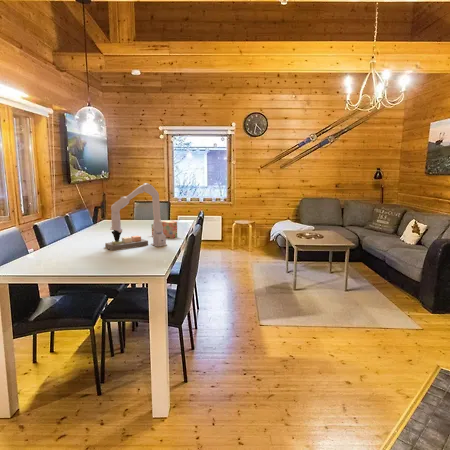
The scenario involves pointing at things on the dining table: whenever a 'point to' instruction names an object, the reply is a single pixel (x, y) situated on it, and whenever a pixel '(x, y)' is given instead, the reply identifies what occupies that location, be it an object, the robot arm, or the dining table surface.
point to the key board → (126, 245)
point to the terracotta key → (136, 238)
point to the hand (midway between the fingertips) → (117, 241)
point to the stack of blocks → (168, 228)
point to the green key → (117, 242)
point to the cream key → (126, 239)
